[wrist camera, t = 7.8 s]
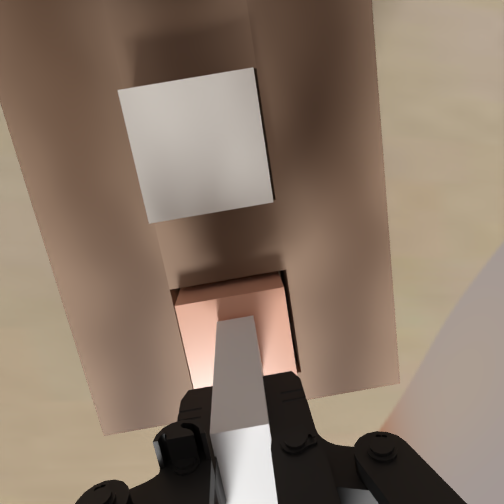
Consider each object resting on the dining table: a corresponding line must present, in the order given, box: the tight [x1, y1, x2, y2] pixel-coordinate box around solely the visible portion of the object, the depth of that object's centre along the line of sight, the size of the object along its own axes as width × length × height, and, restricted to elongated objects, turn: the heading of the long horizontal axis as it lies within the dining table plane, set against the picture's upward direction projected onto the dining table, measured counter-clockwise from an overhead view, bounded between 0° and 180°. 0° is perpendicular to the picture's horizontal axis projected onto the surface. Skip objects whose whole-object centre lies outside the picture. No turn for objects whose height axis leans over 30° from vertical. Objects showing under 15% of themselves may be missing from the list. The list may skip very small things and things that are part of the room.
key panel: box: [0, 0, 400, 436], centre depth 19 cm, size 14×24×6 cm, turn 9°
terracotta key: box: [175, 271, 297, 389], centre depth 18 cm, size 4×4×3 cm
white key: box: [118, 67, 273, 224], centre depth 15 cm, size 4×4×3 cm
